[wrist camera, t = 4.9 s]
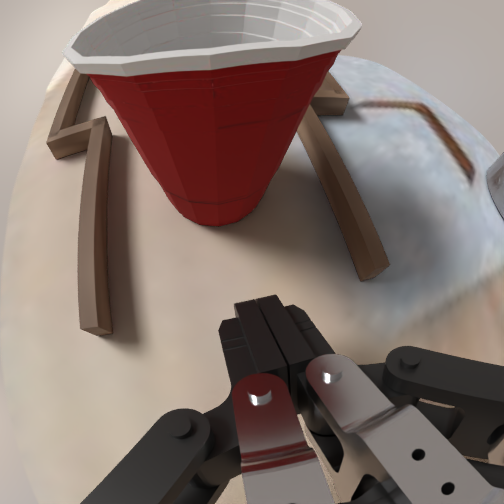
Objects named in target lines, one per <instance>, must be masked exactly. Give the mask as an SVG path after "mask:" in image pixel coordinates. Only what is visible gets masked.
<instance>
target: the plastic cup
mask: <svg viewBox="0 0 504 504" xmlns="http://www.w3.org/2000/svg"><path fill="white" fill-rule="evenodd" d="M362 25H363V24H362V23H361V22H360V21H359V20H358V18H357V17H356V16H355V15H354V14H353V13H352V12H351V11H350V10H348V9H347V8H344V7H343V6H340V5H338V4H336V3H334V2H332V1H330V0H139V1H136V2H133V3H130V4H128V5H125V6H123V7H121V8H118V9H116V10H114V11H112V12H110V13H108V14H106V15H104V16H102V17H100V18H98V19H96V20H95V21H93V22H92V23H90V24H89V25H87V26H86V27H84V28H83V29H82V30H80V31H79V32H78V33H76V34H75V35H74V36H73V37H72V38H71V40H70V41H69V43H68V44H67V45H66V47H65V48H64V50H63V52H62V54H63V55H64V56H65V57H66V59H67V60H68V61H69V62H70V63H71V64H72V65H73V66H74V67H75V68H76V69H77V70H78V72H79V73H83V74H87V75H88V76H89V77H90V79H91V80H92V82H93V84H94V85H95V86H96V87H97V88H98V89H99V90H100V91H101V93H102V95H103V96H104V98H105V100H106V101H107V103H108V104H109V105H110V106H111V107H112V108H113V109H114V111H115V113H116V115H117V116H118V118H119V120H120V121H121V123H122V125H123V127H124V128H125V130H126V132H127V133H128V135H129V137H130V139H131V140H132V142H133V144H134V145H135V147H136V149H137V150H138V152H139V154H140V155H141V157H142V159H143V160H144V162H145V164H146V165H147V167H148V169H149V170H150V172H151V174H152V175H153V176H154V178H155V179H156V180H157V181H158V182H159V184H160V185H161V187H162V189H163V190H164V192H165V194H166V195H167V197H168V199H169V200H170V202H171V203H172V204H173V205H174V207H175V208H176V209H177V210H178V211H179V213H181V214H182V215H183V216H184V217H185V218H187V219H189V220H191V221H193V222H195V223H197V224H199V225H209V226H223V225H227V224H231V223H235V222H238V221H239V220H241V219H242V218H244V217H245V216H247V215H248V214H249V213H251V212H252V211H253V209H254V208H256V206H257V204H258V203H259V201H260V200H261V198H262V196H263V195H264V193H265V191H266V189H267V187H268V185H269V183H270V181H271V179H272V177H273V176H274V174H275V173H276V171H277V169H278V168H279V166H280V164H281V162H282V160H283V158H284V156H285V154H286V152H287V150H288V148H289V146H290V144H291V142H292V139H293V137H294V135H295V133H296V131H297V129H298V127H299V125H300V123H301V121H302V119H303V117H304V115H305V113H306V111H307V109H308V107H309V105H310V103H311V101H312V99H313V97H314V95H315V94H316V92H317V91H318V90H319V88H320V87H321V85H322V83H323V81H324V79H325V76H326V74H327V72H328V71H329V69H330V68H331V67H332V65H333V64H334V62H335V59H336V57H337V55H338V53H339V52H340V51H341V50H343V49H346V47H347V46H348V45H349V44H350V42H351V41H352V40H353V39H354V38H355V36H356V35H357V34H358V32H359V30H360V29H361V27H362Z"/></svg>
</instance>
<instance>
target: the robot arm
mask: <svg viewBox="0 0 504 504" xmlns="http://www.w3.org/2000/svg"><path fill="white" fill-rule="evenodd" d="M486 177H487V184H488V187H489V190H490V193H491V196H492V198H493V200H494V202H495V204H496V206H497V208H498V210H499V212H500V213H501V215H502V217H503V218H504V152H503V153H502V155H501V156H500V157H499V158H498V159H497V160H496V161H495V162H494V164H493V165H492V166H491V167H490V168H489V169H488V171H487V175H486ZM234 309H235V315H236V318H232V319H227V320H223V321H222V323H221V325H220V328H219V330H218V331H219V335H220V340H221V344H222V348H223V353H224V357H225V361H226V366H227V370H228V374H229V378H230V382H231V392H230V394H229V396H228V398H227V399H226V400H225V401H224V402H223V403H222V404H221V405H219V406H218V407H216V408H214V409H212V410H210V411H208V412H206V413H204V414H202V413H200V412H198V411H196V410H193V409H176V410H173V411H170V412H168V413H166V414H164V415H163V416H162V417H161V418H159V419H158V421H157V422H156V423H155V424H154V425H153V426H152V427H151V428H150V430H149V431H148V432H147V433H146V434H145V435H144V436H143V437H142V438H141V440H140V441H139V442H138V443H137V444H136V445H135V446H134V447H133V448H132V450H131V451H130V452H129V453H128V454H127V455H126V456H125V457H124V458H123V459H122V460H121V461H120V463H119V464H118V465H117V466H116V467H115V468H114V469H113V470H112V471H111V472H110V473H109V474H108V475H107V476H106V477H105V478H104V480H103V481H102V482H101V483H100V484H99V485H98V486H97V487H96V488H95V489H94V490H93V491H92V492H91V493H90V494H89V495H88V496H87V497H86V498H85V499H84V500H83V501H82V502H81V503H80V504H215V503H216V501H217V500H218V498H219V497H220V495H221V494H222V492H223V491H224V489H225V488H226V486H227V485H228V483H229V481H230V479H232V478H234V477H236V476H238V475H240V474H241V473H242V478H243V483H244V489H245V495H246V500H247V504H335V502H334V500H333V497H332V494H331V492H330V489H329V486H328V484H327V481H326V478H325V476H324V473H323V470H322V468H321V465H320V462H319V460H318V457H317V455H316V453H315V451H314V449H313V448H310V447H309V446H308V444H307V442H306V439H305V437H304V434H303V431H302V428H301V425H300V422H299V420H298V417H297V414H300V413H301V415H302V417H303V419H304V421H305V433H306V435H307V437H308V438H309V440H310V442H311V443H312V445H313V447H314V448H315V450H316V452H317V453H318V455H319V457H320V458H321V460H322V462H323V463H324V465H325V467H326V468H327V470H328V472H329V473H330V475H331V477H332V479H333V482H334V487H335V490H336V493H337V495H338V497H339V499H340V500H341V502H342V503H338V504H504V366H500V365H494V364H489V363H484V362H479V361H475V360H470V359H465V358H461V357H456V356H452V355H447V354H443V353H438V352H434V351H430V350H426V349H422V348H417V347H413V346H402V347H398V348H396V349H394V350H392V351H391V352H390V353H389V354H388V356H387V358H386V362H385V363H378V364H369V365H356V364H355V363H354V362H353V361H352V360H351V359H350V358H348V357H346V356H343V355H339V354H335V352H334V351H333V350H332V348H331V347H330V345H329V344H328V343H327V341H326V340H325V339H324V337H323V336H322V334H321V333H320V332H319V330H318V329H317V328H316V326H315V325H314V323H313V322H312V321H311V320H310V318H309V317H308V315H307V314H306V312H305V311H304V310H302V309H300V308H298V307H297V306H295V305H289V306H285V307H284V306H283V304H282V303H281V301H280V300H279V298H278V296H277V295H271V296H267V297H262V298H258V299H255V300H254V299H253V300H249V301H244V302H239V303H235V304H234ZM420 398H422V399H426V400H430V401H434V402H438V403H443V404H447V405H451V406H456V407H454V408H445V407H440V406H436V405H432V404H428V403H424V402H420V401H419V399H420ZM462 455H464V456H469V457H475V458H481V459H488V460H489V461H488V462H487V463H484V462H479V461H474V460H470V459H465V458H464V457H463V456H462Z"/></svg>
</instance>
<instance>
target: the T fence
mask: <svg viewBox="0 0 504 504" xmlns="http://www.w3.org/2000/svg"><path fill="white" fill-rule="evenodd" d="M88 79H89V76H88V75H87V74H83V73H79V72H78V70H77V69H76V68H75V70H74V72H73V75H72V77H71V79H70V81H69V83H68V86H67V88H66V90H65V93H64V95H63V98H62V100H61V103H60V105H59V108H58V110H57V113H56V116H55V118H54V121H53V124H52V127H51V130H50V133H49V136H48V139H47V142H46V143H47V145H48V147H49V148H50V150H51V152H52V154H53V155H54V157H55V159H59V158H62V157H65V156H68V155H71V154H75V153H78V152H81V151H84V150H87V156H86V163H85V170H84V177H83V185H82V194H81V204H80V216H79V233H78V302H79V319H80V329H82V330H84V331H86V332H89V333H91V334H94V335H96V336H98V335H105V334H112V333H113V330H112V321H111V312H110V301H109V288H108V270H107V191H108V174H109V161H110V150H111V141H112V133H111V130H110V127H109V124H108V121H107V119H106V116H104V117H101V118H97V119H94V120H90V121H87V122H84V123H81V124H77V125H74V123H75V119H76V116H77V112H78V109H79V106H80V103H81V100H82V97H83V94H84V91H85V88H86V85H87V82H88ZM348 101H349V97H348V95H347V94H346V93H345V92H344V90H343V89H342V88H341V86H340V85H339V84H338V83H337V81H336V80H335V79H334V78H333V76H332V75H331V74H330V73H329V72H327V74H326V76H325V79H324V81H323V83H322V85H321V87H320V88H319V90H318V91H317V92H316V94H315V95H314V97H313V99H312V101H311V103H310V105H309V107H308V109H307V111H306V113H305V115H304V117H303V119H302V121H301V123H300V125H299V127H298V129H297V133H298V135H299V137H300V139H301V141H302V143H303V145H304V147H305V149H306V151H307V153H308V156H309V158H310V160H311V162H312V164H313V166H314V168H315V171H316V173H317V175H318V177H319V179H320V182H321V184H322V186H323V188H324V191H325V193H326V195H327V197H328V200H329V202H330V204H331V207H332V209H333V212H334V214H335V216H336V219H337V221H338V224H339V226H340V229H341V231H342V234H343V236H344V239H345V241H346V244H347V246H348V249H349V252H350V254H351V257H352V260H353V262H354V265H355V268H356V271H357V273H358V276H359V279H360V281H364V280H368V279H371V278H374V277H376V276H377V275H378V274H379V273H381V272H382V271H383V270H385V269H386V268H387V267H388V266H390V263H389V261H388V258H387V256H386V253H385V251H384V248H383V246H382V244H381V241H380V239H379V236H378V234H377V232H376V229H375V227H374V225H373V223H372V220H371V218H370V216H369V214H368V211H367V209H366V207H365V205H364V203H363V201H362V199H361V197H360V194H359V192H358V190H357V188H356V186H355V184H354V182H353V180H352V178H351V176H350V174H349V172H348V170H347V168H346V167H345V165H344V163H343V161H342V159H341V157H340V155H339V153H338V152H337V150H336V148H335V146H334V144H333V142H332V141H331V139H330V137H329V135H328V134H327V132H326V130H325V128H324V127H323V125H322V123H321V122H320V120H319V118H318V117H317V115H343V113H344V111H345V108H346V106H347V103H348Z"/></svg>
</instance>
